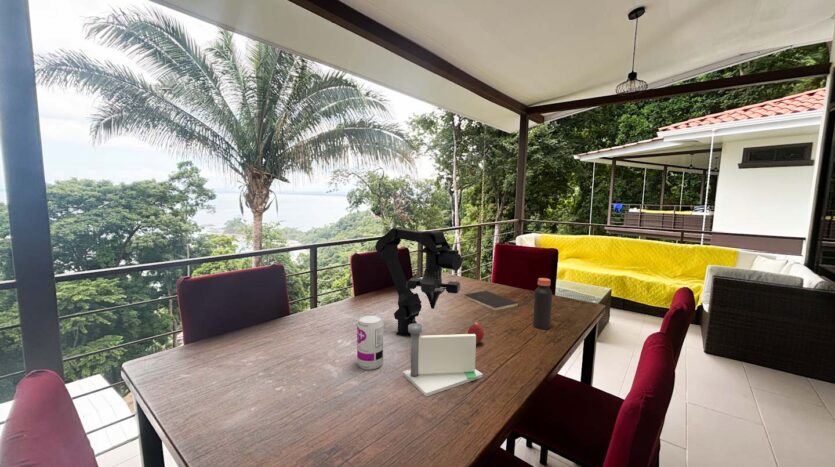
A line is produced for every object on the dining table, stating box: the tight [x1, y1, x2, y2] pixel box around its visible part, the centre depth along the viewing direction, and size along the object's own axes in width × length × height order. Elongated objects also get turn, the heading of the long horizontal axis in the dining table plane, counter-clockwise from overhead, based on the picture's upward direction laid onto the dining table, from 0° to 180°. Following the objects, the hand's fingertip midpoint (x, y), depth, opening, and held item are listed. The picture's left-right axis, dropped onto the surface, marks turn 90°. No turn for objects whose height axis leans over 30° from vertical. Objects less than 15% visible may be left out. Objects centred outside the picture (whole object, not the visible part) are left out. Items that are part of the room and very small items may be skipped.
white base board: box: [402, 368, 484, 397], centre depth 103 cm, size 20×14×1 cm
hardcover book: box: [463, 290, 520, 311], centre depth 174 cm, size 16×23×2 cm
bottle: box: [532, 277, 553, 330], centre depth 141 cm, size 7×7×20 cm
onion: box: [467, 321, 485, 345], centre depth 125 cm, size 6×6×8 cm
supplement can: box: [356, 314, 384, 371], centre depth 108 cm, size 8×8×15 cm
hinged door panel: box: [408, 322, 477, 377], centre depth 101 cm, size 20×4×15 cm, turn 96°
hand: (432, 308), depth 124 cm, fingers closed
